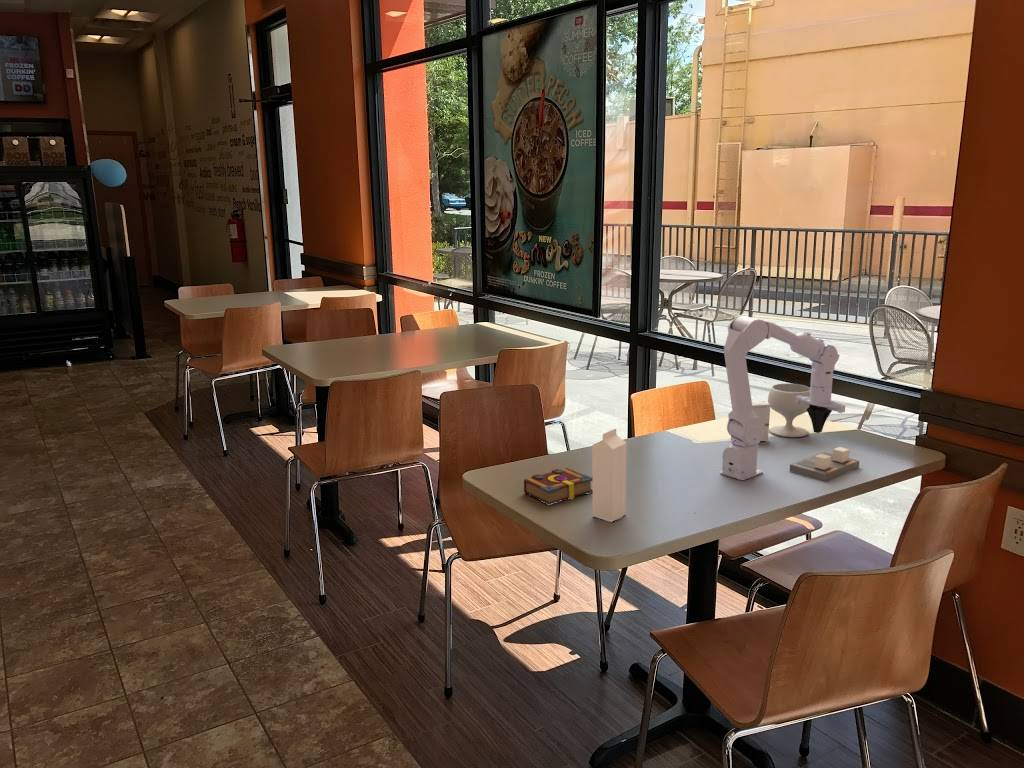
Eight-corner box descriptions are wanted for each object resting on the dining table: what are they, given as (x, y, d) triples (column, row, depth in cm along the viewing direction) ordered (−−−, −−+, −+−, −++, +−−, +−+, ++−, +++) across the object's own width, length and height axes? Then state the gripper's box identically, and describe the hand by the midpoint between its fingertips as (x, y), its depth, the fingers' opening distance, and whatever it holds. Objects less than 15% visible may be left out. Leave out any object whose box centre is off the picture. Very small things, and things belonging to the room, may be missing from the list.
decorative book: (522, 494, 221) (522, 477, 220) (570, 481, 230) (569, 464, 229) (549, 507, 212) (548, 489, 211) (596, 493, 221) (596, 475, 220)
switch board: (824, 481, 224) (825, 473, 224) (789, 471, 233) (789, 463, 233) (858, 467, 235) (859, 460, 234) (823, 458, 243) (824, 451, 243)
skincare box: (750, 442, 259) (752, 405, 256) (744, 438, 263) (746, 401, 260) (769, 441, 259) (771, 404, 257) (763, 437, 264) (764, 400, 261)
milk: (625, 515, 205) (627, 430, 200) (612, 523, 200) (613, 436, 195) (605, 510, 209) (606, 426, 203) (591, 517, 204) (592, 431, 199)
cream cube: (842, 462, 232) (843, 451, 231) (832, 460, 235) (833, 449, 234) (848, 460, 234) (849, 449, 233) (838, 457, 236) (839, 446, 236)
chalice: (757, 432, 269) (759, 388, 265) (780, 424, 277) (783, 380, 274) (797, 442, 258) (799, 395, 255) (819, 432, 267) (823, 387, 264)
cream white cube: (823, 469, 227) (824, 458, 226) (814, 467, 229) (814, 456, 228) (830, 467, 229) (831, 456, 228) (820, 464, 231) (821, 453, 230)
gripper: (852, 388, 229) (849, 435, 232) (806, 379, 241) (803, 423, 244) (838, 392, 225) (834, 439, 228) (792, 382, 236) (789, 428, 240)
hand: (817, 432), depth 236 cm, fingers closed
